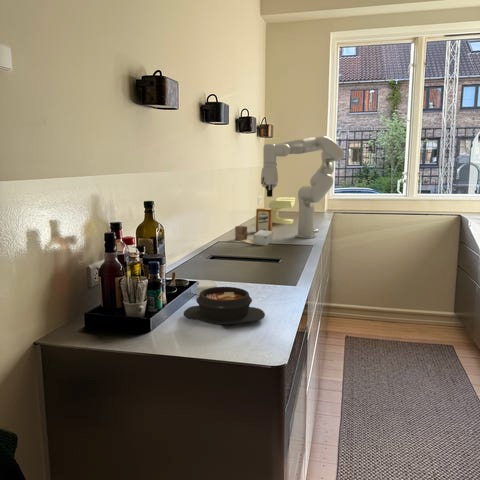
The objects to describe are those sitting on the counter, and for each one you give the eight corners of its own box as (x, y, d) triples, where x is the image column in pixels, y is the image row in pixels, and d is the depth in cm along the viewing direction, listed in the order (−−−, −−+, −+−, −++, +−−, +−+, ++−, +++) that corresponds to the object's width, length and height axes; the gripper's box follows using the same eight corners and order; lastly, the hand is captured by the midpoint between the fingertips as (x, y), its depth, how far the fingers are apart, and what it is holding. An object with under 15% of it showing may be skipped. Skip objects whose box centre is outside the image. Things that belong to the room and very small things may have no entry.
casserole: (177, 328, 134) (177, 300, 133) (189, 308, 152) (189, 283, 151) (264, 332, 132) (264, 304, 131) (265, 310, 151) (266, 285, 149)
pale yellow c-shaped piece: (274, 219, 370) (275, 197, 367) (294, 220, 366) (295, 197, 363) (268, 224, 341) (268, 200, 338) (289, 225, 338) (290, 201, 334)
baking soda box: (272, 232, 307) (272, 208, 304) (270, 233, 301) (270, 209, 298) (258, 231, 310) (258, 207, 307) (256, 232, 303) (256, 208, 301)
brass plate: (255, 239, 280) (255, 238, 280) (268, 242, 271) (268, 241, 271) (239, 241, 273) (239, 240, 273) (252, 244, 264) (252, 243, 264)
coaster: (199, 297, 164) (199, 288, 163) (185, 291, 172) (184, 282, 171) (222, 293, 170) (222, 283, 169) (207, 287, 178) (207, 278, 177)
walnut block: (240, 238, 282) (240, 225, 280) (247, 239, 278) (247, 226, 277) (235, 239, 278) (235, 226, 276) (241, 240, 275) (241, 227, 273)
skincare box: (259, 239, 276) (252, 244, 262) (260, 229, 275) (252, 234, 261) (273, 240, 273) (266, 246, 260) (273, 230, 272) (266, 236, 258)
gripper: (274, 165, 279) (274, 195, 283) (256, 165, 270) (256, 197, 274) (283, 165, 274) (283, 196, 277) (264, 165, 264) (264, 198, 268)
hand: (269, 196), depth 275 cm, fingers closed
